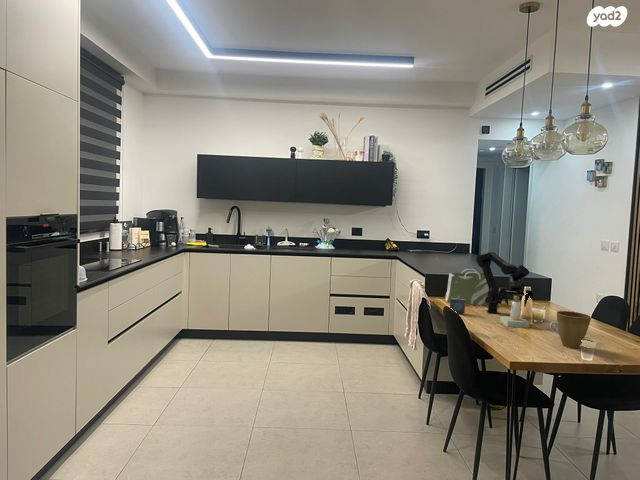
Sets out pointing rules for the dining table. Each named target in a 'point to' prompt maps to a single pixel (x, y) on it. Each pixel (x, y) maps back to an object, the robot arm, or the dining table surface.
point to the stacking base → (514, 322)
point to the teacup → (556, 328)
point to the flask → (458, 305)
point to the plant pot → (572, 327)
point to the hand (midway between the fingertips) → (516, 305)
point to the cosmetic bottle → (515, 308)
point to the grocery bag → (468, 287)
